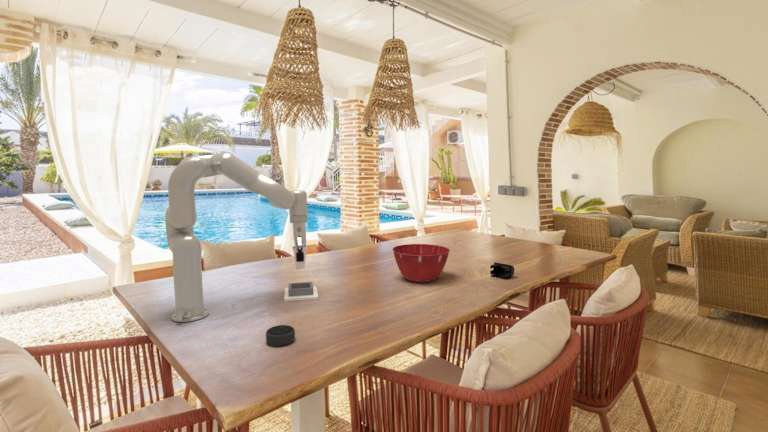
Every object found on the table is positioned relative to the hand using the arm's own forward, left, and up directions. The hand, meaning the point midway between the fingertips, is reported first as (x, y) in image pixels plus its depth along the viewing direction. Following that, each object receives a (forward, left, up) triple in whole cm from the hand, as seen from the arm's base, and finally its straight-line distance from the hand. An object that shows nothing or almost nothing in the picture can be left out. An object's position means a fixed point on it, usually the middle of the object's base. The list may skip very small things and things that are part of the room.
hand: (300, 259), depth 176 cm
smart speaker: (-49, +7, -16) cm, 52 cm away
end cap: (+6, -100, -16) cm, 101 cm away
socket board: (0, 0, -16) cm, 16 cm away
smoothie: (0, 0, -4) cm, 4 cm away
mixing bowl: (+12, -59, -16) cm, 62 cm away
